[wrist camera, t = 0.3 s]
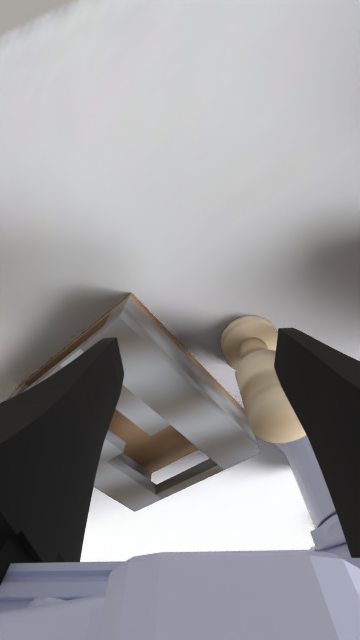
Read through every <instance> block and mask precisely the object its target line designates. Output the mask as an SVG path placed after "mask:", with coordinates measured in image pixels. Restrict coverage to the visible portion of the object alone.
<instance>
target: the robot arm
mask: <svg viewBox="0 0 360 640" xmlns="http://www.w3.org/2000/svg"><path fill="white" fill-rule="evenodd" d="M274 368H275V371H276V374H277V377H278V380H279V382H280V385H281V387H282V389H283V391H284V393H285V395H286V397H287V399H288V401H289V403H290V405H291V406H292V408H293V410H294V412H295V414H296V416H297V418H298V420H299V422H300V423H301V425H302V427H303V429H304V431H305V433H306V435H305V436H304V437H302V438H300V439H298V440H295V441H292V442H287V443H274V444H275V445H276V446H277V447H278V448H279V449H280V450H281V451H282V452H283V453H284V454H285V455H286V456H287V458H288V461H289V464H290V466H291V469H292V471H293V474H294V476H295V479H296V481H297V484H298V486H299V489H300V491H301V494H302V496H303V499H304V501H305V504H306V507H307V509H308V512H309V514H310V517H311V519H312V522H313V524H314V527H315V530H313V531H311V532H310V533H311V535H312V538H313V541H314V543H315V546H314V547H311V548H310V550H279V551H220V552H161V553H155V554H148V555H141V556H135V557H132V558H131V559H129V560H127V561H125V562H80V557H81V551H82V545H83V539H84V533H85V528H86V522H87V517H88V512H89V507H90V501H91V496H92V492H93V487H94V482H95V477H96V473H97V468H98V464H99V460H100V456H101V451H102V447H103V444H104V441H105V437H106V434H107V432H108V429H109V426H110V423H111V420H112V417H113V414H114V412H115V409H116V406H117V403H118V400H119V397H120V394H121V389H122V385H123V379H124V369H123V364H122V359H121V355H120V350H119V345H118V341H117V337H113V338H103V339H101V340H100V341H98V342H97V343H95V344H94V345H93V346H91V347H90V348H89V349H88V350H86V351H85V352H84V353H82V354H81V355H80V356H78V357H77V358H76V359H74V360H73V361H72V362H70V363H69V364H67V365H66V366H64V367H63V368H61V369H60V370H59V371H57V372H56V373H54V374H53V375H51V376H50V377H48V378H47V379H45V380H43V381H42V382H40V383H38V384H36V385H35V386H33V387H31V388H30V389H28V390H26V391H24V392H22V393H20V394H18V395H16V396H14V397H12V398H10V399H8V400H6V401H4V402H2V403H0V640H360V361H358V360H356V359H354V358H351V357H349V356H347V355H345V354H343V353H341V352H339V351H337V350H335V349H333V348H331V347H329V346H327V345H325V344H324V343H322V342H320V341H318V340H316V339H314V338H312V337H311V336H309V335H307V334H305V333H303V332H301V331H299V330H297V329H294V328H279V329H278V337H277V345H276V353H275V361H274Z"/></svg>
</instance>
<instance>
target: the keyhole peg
mask: <svg viewBox="0 0 360 640" xmlns="http://www.w3.org/2000/svg"><path fill="white" fill-rule="evenodd" d="M277 337H278V332H277V331H276V329H275V328H274V326H273V325H272V324H271V323H270V322H269V321H268V320H267V319H265V318H263V317H260V316H255V315H249V316H243V317H240V318H238V319H236V320H234V321H232V322H231V323H230V324H229V325H228V326H227V327H226V328H225V329H224V331H223V333H222V336H221V348H222V352H223V356H224V359H225V361H226V362H227V364H228V365H229V366H230V367H232V368H233V369H235V370H236V372H235V375H236V380H237V383H238V387H239V390H240V394H241V397H242V400H243V404H244V407H245V411H246V414H247V418H248V421H249V425H250V428H251V430H252V432H253V434H254V435H255V436H256V437H258V438H259V439H261V440H263V441H266V442H270V443H287V442H292V441H295V440H298V439H300V438H302V437H304V436H305V435H306V433H305V431H304V429H303V427H302V425H301V423H300V422H299V420H298V418H297V416H296V414H295V412H294V410H293V408H292V406H291V405H290V403H289V401H288V399H287V397H286V395H285V393H284V391H283V389H282V387H281V385H280V382H279V380H278V377H277V374H276V371H275V368H274V361H275V353H276V345H277Z"/></svg>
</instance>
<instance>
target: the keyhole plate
mask: <svg viewBox="0 0 360 640" xmlns="http://www.w3.org/2000/svg"><path fill="white" fill-rule="evenodd" d="M113 337H117V341H118V345H119V350H120V355H121V359H122V364H123V369H124V379H123V385H122V389H121V394H120V397H119V400H118V403H117V406H116V409H115V412H114V414H113V417H112V420H111V423H110V426H109V429H108V432H107V434H106V437H105V441H104V444H103V447H102V451H101V456H100V460H99V464H98V468H97V473H96V477H95V482H94V487H95V488H96V489H98V490H100V491H101V492H103V493H105V494H106V495H108V496H109V497H111V498H113V499H114V500H116V501H118V502H119V503H121V504H123V505H124V506H126V507H128V508H129V509H131V510H133V511H134V512H135V511H138V510H140V509H142V508H144V507H146V506H148V505H150V504H153V503H155V502H157V501H159V500H161V499H163V498H165V497H168V496H170V495H172V494H174V493H176V492H178V491H180V490H183V489H185V488H187V487H189V486H191V485H193V484H195V483H197V482H200V481H202V480H204V479H206V478H208V477H210V476H212V475H215V474H217V473H219V472H221V471H223V470H225V469H227V468H230V467H232V466H234V465H236V464H238V463H240V462H242V461H245V460H247V459H249V458H251V457H253V456H255V455H257V454H260V450H259V447H258V444H257V440H256V437H255V435H254V434H253V432H252V430H251V428H250V425H249V421H248V418H247V414H246V411H245V410H244V409H243V408H242V407H241V406H240V405H239V404H238V403H237V402H236V401H235V400H234V399H233V398H232V397H231V395H230V394H229V393H228V392H227V391H226V390H225V389H224V388H223V387H222V386H221V385H220V384H219V383H218V382H217V381H216V380H215V379H214V378H213V377H212V376H211V375H210V374H209V373H208V372H207V371H206V370H205V369H204V367H203V366H202V365H201V364H200V363H199V362H198V361H197V360H196V359H195V358H194V357H193V356H192V355H191V354H190V353H189V352H188V351H187V350H186V349H185V348H184V347H183V346H182V345H181V344H180V343H179V342H178V341H177V339H176V338H175V337H174V336H173V335H172V334H171V333H170V332H169V331H168V330H167V329H166V328H165V327H164V326H163V325H162V324H161V323H160V322H159V321H158V320H157V319H156V318H155V317H154V316H153V315H152V314H151V313H150V311H149V310H148V309H147V308H146V307H145V306H144V305H143V304H142V303H141V302H140V301H139V300H138V299H137V298H136V297H135V296H134V295H133V294H132V293H131V294H129V295H128V296H127V297H126V298H125V299H123V300H122V301H121V302H120V303H119V304H117V305H116V306H115V307H114V308H112V309H111V310H110V311H109V312H108V313H106V314H105V315H104V316H103V317H102V318H100V319H99V320H98V321H97V322H96V323H94V324H93V325H92V326H91V327H90V328H88V329H87V330H86V331H85V332H84V333H82V334H81V335H80V336H79V337H78V338H76V339H75V340H74V341H73V342H71V343H70V344H69V345H68V346H67V347H65V348H64V349H63V350H62V351H61V352H59V353H58V354H57V355H56V356H55V357H53V358H52V359H51V360H50V361H49V362H47V363H46V364H45V365H44V366H43V367H41V368H40V369H39V370H38V371H36V372H35V373H34V374H33V375H32V376H30V377H29V378H28V379H27V380H26V381H24V382H23V383H22V384H21V385H20V386H18V388H17V389H16V390H15V391H14V392H13V394H12V395H11V396H10V397H9V398H8V399H10V398H12V397H14V396H16V395H18V394H20V393H22V392H24V391H26V390H28V389H30V388H31V387H33V386H35V385H36V384H38V383H40V382H42V381H43V380H45V379H47V378H48V377H50V376H51V375H53V374H54V373H56V372H57V371H59V370H60V369H61V368H63V367H64V366H66V365H67V364H69V363H70V362H72V361H73V360H74V359H76V358H77V357H78V356H80V355H81V354H82V353H84V352H85V351H86V350H88V349H89V348H90V347H91V346H93V345H94V344H95V343H97V342H98V341H100V340H101V339H103V338H113ZM198 449H200V450H201V451H202V452H204V453H205V454H206V455H207V456H208V457H210V459H208V460H206V461H204V462H202V463H200V464H198V465H196V466H194V467H192V468H190V469H188V470H186V471H184V472H182V473H180V474H178V475H176V476H174V477H172V478H170V479H167V480H165V481H163V482H161V483H159V484H157V485H156V484H154V483H153V482H152V481H151V474H152V473H153V472H155V471H157V470H159V469H161V468H163V467H165V466H167V465H168V464H170V463H172V462H174V461H176V460H178V459H180V458H182V457H184V456H186V455H188V454H190V453H192V452H194V451H196V450H198Z"/></svg>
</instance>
